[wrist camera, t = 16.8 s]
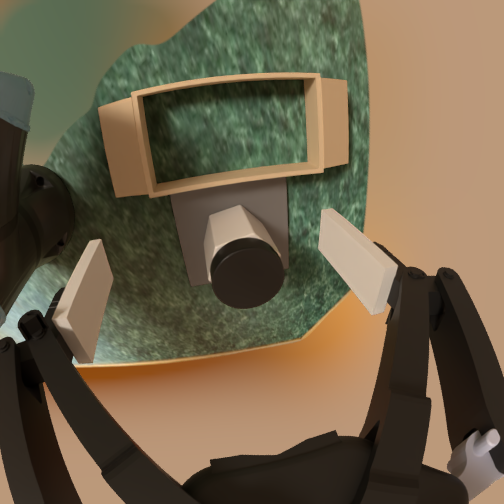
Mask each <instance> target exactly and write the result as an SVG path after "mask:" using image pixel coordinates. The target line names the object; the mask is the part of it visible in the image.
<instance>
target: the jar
mask: <svg viewBox="0 0 504 504" xmlns="http://www.w3.org/2000/svg"><path fill="white" fill-rule="evenodd" d="M204 251H205V259H206V267H207V275H208V280H209V281H210V282H212V288H213V291H214V293H215V295H216V296H217V298H218V299H219V300H220V301H221V302H223V303H224V304H226V305H228V306H231V307H234V308H240V309H248V308H254V307H257V306H260V305H262V304H264V303H266V302H268V301H269V300H271V299H272V298H273V297H274V296H275V295H276V294H277V293H278V291H279V290H280V288H281V286H282V284H283V281H284V275H285V274H284V267H283V264H282V261H281V259H280V257H281V254H280V252H279V251H278V249H277V247H276V245H275V244H274V242H273V240H272V239H271V237H270V235H269V233H268V232H267V230H266V228H265V227H264V225H263V223H262V222H260V221H259V220H258V219H257V218H256V217H255V216H253V215H252V214H251V213H250V212H249V211H248V210H246V209H245V208H244V207H243V206H242V205H237V206H235V207H232V208H229V209H226V210H223V211H220V212H217V213H214V214H211V215H210V216H209V219H208V224H207V229H206V234H205V239H204Z"/></svg>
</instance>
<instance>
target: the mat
mask: <svg viewBox="0 0 504 504" xmlns="http://www.w3.org/2000/svg"><path fill="white" fill-rule="evenodd" d="M170 198H171V203H172V208H173V213H174V217H175V222H176V227H177V231H178V236H179V240H180V244H181V249H182V253H183V257H184V261H185V265H186V269H187V273H188V277H189V281H190V285H191V287H193V286H198V285H204V284H209V283H212V282H210V281H209V280H208V275H207V267H206V259H205V251H204V239H205V234H206V229H207V224H208V219H209V216H210V215H211V214H214V213H217V212H220V211H223V210H226V209H229V208H232V207H235V206H237V205H242V206H243V207H244V208H245V209H246V210H248V211H249V212H250V213H251V214H252V215H253V216H255V217H256V218H257V219H258V220H259V221H260V222H262V223H263V225H264V227H265V228H266V230H267V232H268V233H269V235H270V237H271V239H272V240H273V242H274V244H275V245H276V247H277V249H278V251H279V252H280V254H281V257H280V259H281V261H282V264H283V267H284V269H288V268H289V251H288V214H287V187H286V177H277V178H269V179H262V180H254V181H247V182H240V183H233V184H227V185H220V186H214V187H208V188H202V189H196V190H191V191H185V192H180V193H175V194H170Z"/></svg>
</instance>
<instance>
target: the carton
mask: <svg viewBox="0 0 504 504" xmlns="http://www.w3.org/2000/svg"><path fill="white" fill-rule="evenodd" d="M258 80H304V92H305V109H306V128H307V155H308V162H303V163H292V164H282V165H273V166H265V167H257V168H249V169H241V170H234V171H227V172H221V173H214V174H208V175H202V176H196V177H191V178H185V179H180V180H174V181H169V182H164V183H159V184H157V181H156V176H155V171H154V166H153V161H152V155H151V149H150V144H149V138H148V131H147V125H146V118H145V111H144V104H143V97H144V96H148V95H153V94H158V93H163V92H168V91H173V90H179V89H185V88H191V87H197V86H205V85H212V84H221V83H231V82H243V81H258ZM131 95H132V97H130V98H126V99H123V100H120V101H117V102H113V103H110V104H107V105H104V106H101V107H98V111H99V117H100V124H101V129H102V135H103V141H104V146H105V151H106V156H107V161H108V165H109V170H110V174H111V179H112V183H113V187H114V191H115V195H116V198H118V197H126V196H135V195H145V194H149V197H150V198H154V197H159V196H164V195H169V194H175V193H180V192H185V191H191V190H196V189H202V188H208V187H214V186H220V185H227V184H233V183H240V182H247V181H254V180H262V179H269V178H277V177H286V176H295V175H304V174H314V173H324V168H328V167H333V166H338V165H343V164H348V154H349V130H348V94H347V80H338V79H328V78H320V73H257V74H241V75H229V76H219V77H210V78H202V79H195V80H189V81H182V82H177V83H171V84H166V85H161V86H156V87H151V88H147V89H142V90H138V91H134V92H131Z"/></svg>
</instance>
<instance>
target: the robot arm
mask: <svg viewBox="0 0 504 504" xmlns="http://www.w3.org/2000/svg"><path fill="white" fill-rule="evenodd" d="M34 94H35V92H34V87H33V84H32V83H31V82H30V80H28V79H27V78H25V77H22V76H18V75H15V74H11V73H7V72H2V71H0V327H1V326H2V324H4V323H5V321H6V316H7V314H8V313H9V311H10V309H11V307H12V306H13V304H14V302H15V301H16V299H17V297H18V296H19V294H20V292H21V291H22V289H23V288H24V286H25V284H26V283H27V281H28V280H29V278H30V277H31V275H32V274H33V272H34V271H35V269H37V268H38V267H40V266H42V265H44V264H46V263H48V262H50V261H52V260H53V259H55V258H56V257H57V256H58V255H59V254H60V253H61V252H62V251H63V250H64V248H65V247H66V245H67V244H68V242H69V241H70V239H71V236H72V233H73V230H74V222H75V215H74V207H73V203H72V200H71V197H70V194H69V192H68V190H67V188H66V187H65V185H64V183H63V182H62V181H61V180H60V178H59V177H58V176H57V175H56V174H54V173H53V172H52V171H50V170H49V169H47V168H45V167H43V166H39V165H33V164H30V165H24V166H22V163H23V156H24V150H25V144H26V139H27V134H28V132H29V131H30V126H29V122H30V115H31V109H32V105H33V100H34ZM318 249H319V250H320V252H321V253H322V254H323V255H324V256H325V258H326V259H327V260H328V261H329V262H330V264H331V265H332V266H333V267H334V268H335V270H336V271H337V272H338V273H339V275H340V276H341V277H342V278H343V280H344V281H345V282H346V283H347V285H348V286H349V287H350V288H351V290H352V291H353V292H354V293H355V295H356V296H357V297H358V298H359V299H360V301H361V302H362V304H363V305H364V306H365V307H366V309H367V310H368V311H369V313H370V314H371V315H375V314H379V313H382V312H384V310H385V307H386V304H387V303H388V304H389V305H390V306H391V310H390V312H389V315H388V318H387V321H386V324H388V325H387V331H386V337H385V342H384V347H383V352H382V357H381V362H380V367H379V371H378V376H377V380H376V384H375V388H374V392H373V396H372V399H371V404H370V407H369V411H368V414H367V417H366V420H365V424H364V426H363V428H362V431H361V433H360V435H359V437H354V436H338V435H337V432H336V430H334V431H331V432H328V433H326V434H322V435H319V436H316V437H313V438H309V439H307V440H305V441H303V442H301V443H299V444H298V445H296V446H294V447H292V448H290V449H288V450H286V451H284V452H282V453H281V454H278V455H238V456H232V457H225V458H219V459H211V460H210V464H211V466H210V467H207V468H204V469H203V470H200V471H199V472H197V473H196V474H194V475H192V476H191V477H190V478H189V479H188V480H187V481H186V482H185V483H184V484H183V485H180V484H179V483H178V482H177V481H175V480H174V479H173V478H172V477H171V476H170V475H169V474H167V473H166V472H165V471H164V470H163V469H161V467H160V466H158V465H157V464H156V463H155V462H154V461H153V460H152V459H151V458H150V457H149V456H148V455H147V454H146V453H145V452H144V451H143V450H142V449H141V448H140V447H139V446H138V445H137V444H136V443H135V442H134V441H133V440H132V439H131V438H130V436H129V435H128V434H127V433H126V432H125V431H124V430H123V429H122V428H121V426H120V425H119V424H118V423H117V422H116V421H115V420H114V418H113V417H112V416H111V415H110V414H109V412H108V411H107V410H106V409H105V408H104V406H103V405H102V404H101V402H100V401H99V400H98V399H97V397H96V396H95V395H94V393H93V392H92V391H91V389H90V388H89V387H88V385H87V384H86V382H85V381H84V380H83V378H82V377H81V375H80V374H79V372H78V371H77V369H76V368H75V366H74V365H73V364H72V359H73V356H74V357H75V359H76V360H77V362H78V363H79V364H81V363H93V359H94V354H95V350H96V345H97V340H98V336H99V331H100V327H101V323H102V319H103V315H104V311H105V307H106V304H107V300H108V296H109V293H110V289H111V286H112V282H113V279H114V278H113V275H112V272H111V269H110V266H109V263H108V260H107V257H106V253H105V250H104V247H103V243H102V240H101V239H97V240H92V241H89V243H88V245H87V247H86V249H85V250H84V252H83V254H82V256H81V258H80V260H79V262H78V264H77V265H76V267H75V269H74V271H73V273H72V275H71V277H70V279H69V282H68V284H67V286H66V287H64V288H61V289H60V290H59V291H58V292H57V293H56V294H55V296H54V298H53V300H52V303H51V304H50V306H49V308H48V311H47V313H46V315H45V317H43V315H42V313H41V312H40V311H39V310H31V311H29V312H27V313H25V314H24V315H23V316H22V317H21V318H20V320H19V322H18V329H19V330H20V332H21V333H22V335H23V337H24V338H25V340H26V341H23V342H20V343H18V344H16V342H15V341H14V340H13V338H11V337H5V338H3V339H1V340H0V449H1V455H2V460H3V464H4V468H5V473H6V476H7V480H8V484H9V488H10V491H11V494H12V497H13V501H14V504H82V502H81V500H80V498H79V496H78V493H77V491H76V489H75V487H74V484H73V482H72V480H71V477H70V475H69V472H68V470H67V467H66V465H65V462H64V459H63V457H62V454H61V451H60V448H59V445H58V442H57V439H56V435H55V432H54V428H53V425H52V422H51V418H50V414H49V410H48V406H47V401H46V397H45V392H44V387H43V382H45V383H46V385H47V387H48V389H49V391H50V392H51V394H52V396H53V398H54V400H55V402H56V403H57V405H58V407H59V409H60V410H61V412H62V414H63V415H64V417H65V419H66V420H67V422H68V423H69V425H70V427H71V428H72V430H73V431H74V433H75V434H76V436H77V437H78V439H79V440H80V442H81V443H82V445H83V446H84V447H85V449H86V450H87V452H88V453H89V454H90V456H91V457H92V458H93V459H94V461H95V462H96V464H97V465H98V466H99V467H100V469H101V470H102V473H101V474H102V476H103V478H104V479H105V481H106V482H107V483H108V484H109V486H110V487H111V488H112V489H113V490H114V491H115V492H116V494H117V495H118V496H119V497H120V498H121V499H122V500H123V501H124V502H125V503H126V504H469V501H470V500H472V499H473V498H475V497H476V496H477V495H479V494H480V493H481V492H482V491H484V490H485V489H486V488H488V487H489V486H490V485H491V484H492V483H494V482H495V481H497V480H498V479H500V478H502V477H503V476H504V377H503V374H502V371H501V368H500V365H499V362H498V360H497V357H496V354H495V351H494V349H493V346H492V344H491V341H490V339H489V336H488V334H487V332H486V329H485V327H484V325H483V323H482V321H481V318H480V316H479V314H478V312H477V310H476V308H475V305H474V303H473V301H472V299H471V297H470V295H469V294H468V292H467V290H466V288H465V286H464V284H463V282H462V280H461V279H460V277H459V275H458V274H457V273H456V272H455V271H454V270H453V269H450V268H445V267H444V268H443V267H442V268H439V269H438V272H437V275H436V276H427V275H426V274H425V273H424V272H423V271H422V270H420V269H418V268H416V267H406V266H405V265H404V264H403V263H401V262H400V261H399V260H398V259H397V258H396V257H395V256H393V255H392V254H391V253H390V252H388V250H387V249H386V248H385V247H384V246H382V245H380V244H378V243H376V242H372V241H371V240H369V239H368V238H367V237H366V236H365V235H364V234H363V233H361V232H360V231H359V230H358V229H357V228H356V227H354V226H353V225H352V224H351V223H350V222H348V221H347V220H346V219H345V218H344V217H342V216H341V215H340V214H339V213H338V212H336V211H335V210H334V209H322V212H321V225H320V236H319V246H318ZM429 337H430V340H431V345H432V349H433V353H434V357H435V361H436V365H437V370H438V375H439V380H440V385H441V390H442V396H443V402H444V407H445V414H446V422H447V430H448V436H449V441H450V445H451V448H452V454H451V460H450V461H449V462H448V464H447V469H448V471H449V472H450V473H451V474H449V473H446V472H443V471H440V470H437V469H435V468H432V467H429V466H427V465H424V464H422V461H423V456H424V451H425V446H426V439H427V433H428V428H429V421H430V413H431V399H430V398H428V397H426V387H427V376H428V360H429Z"/></svg>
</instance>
